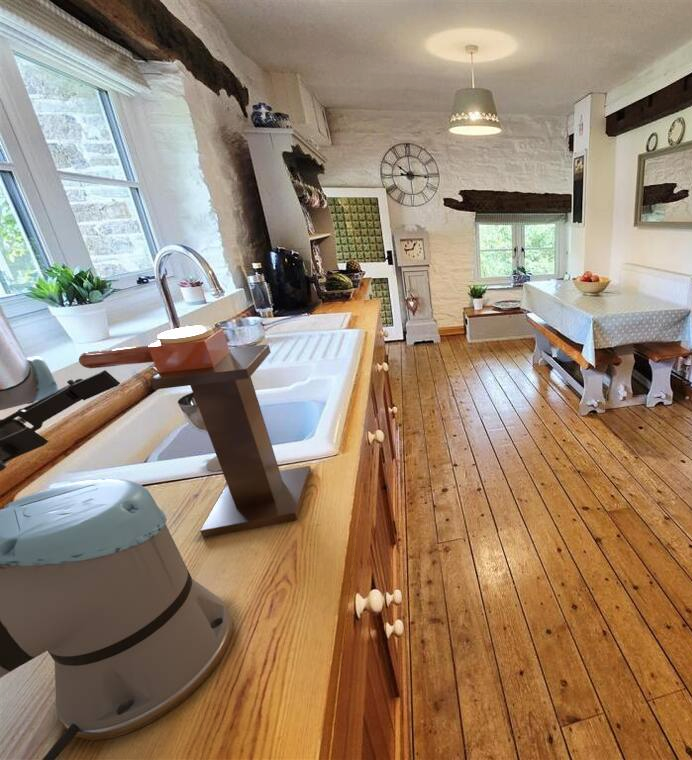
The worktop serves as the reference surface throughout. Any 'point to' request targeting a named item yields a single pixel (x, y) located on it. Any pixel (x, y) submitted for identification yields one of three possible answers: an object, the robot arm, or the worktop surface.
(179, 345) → the reddish brown long piece
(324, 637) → the worktop surface
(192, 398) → the wine glass
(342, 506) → the worktop surface
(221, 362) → the stand
